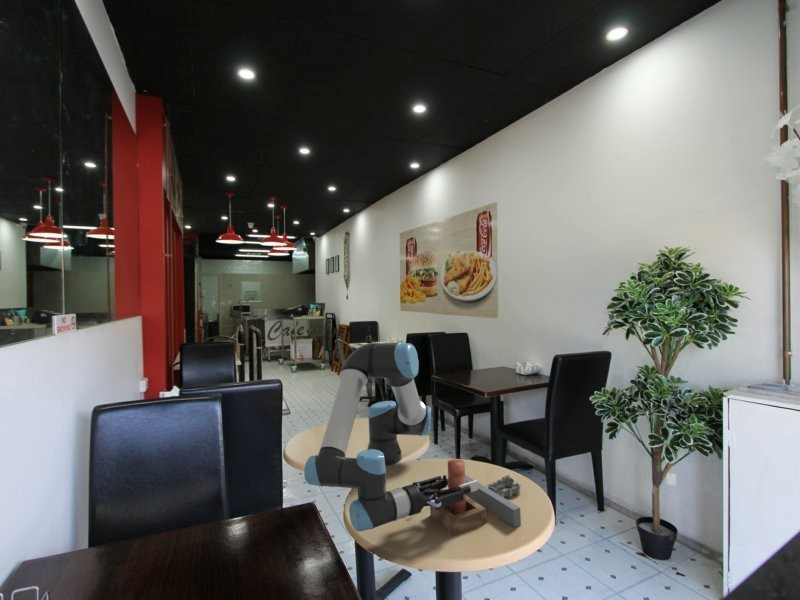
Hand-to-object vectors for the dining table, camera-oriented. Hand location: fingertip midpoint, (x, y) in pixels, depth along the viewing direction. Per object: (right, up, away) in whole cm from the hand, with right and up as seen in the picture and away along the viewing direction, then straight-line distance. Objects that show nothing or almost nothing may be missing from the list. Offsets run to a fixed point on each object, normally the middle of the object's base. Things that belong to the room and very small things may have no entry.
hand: (470, 481), depth 122 cm
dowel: (-4, -9, -3) cm, 10 cm away
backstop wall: (+6, -10, +4) cm, 12 cm away
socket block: (-4, -10, -3) cm, 11 cm away
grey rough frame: (+14, -10, +13) cm, 21 cm away
